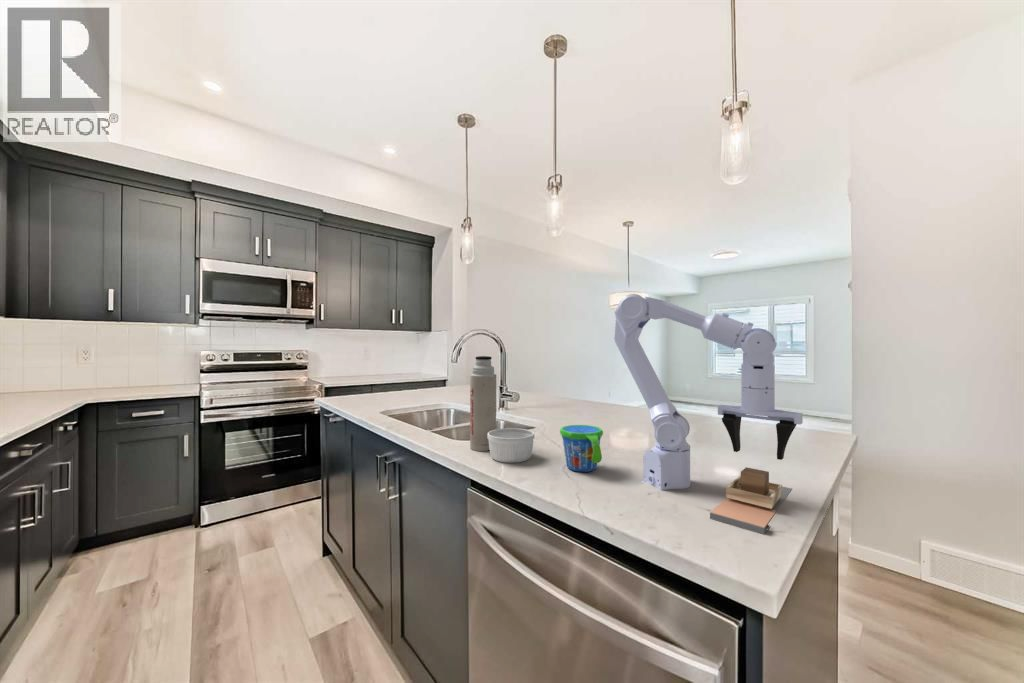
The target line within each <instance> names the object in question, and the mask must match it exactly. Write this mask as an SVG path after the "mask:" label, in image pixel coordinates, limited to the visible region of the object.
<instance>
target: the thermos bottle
mask: <svg viewBox="0 0 1024 683" xmlns="http://www.w3.org/2000/svg"><path fill="white" fill-rule="evenodd" d="M491 360H492V356H486V355H481V356H480V355H479V356H478V355H477V356H475V365H474V366H473V367H472V369H471V371H472V374H470V376H469V379H470V380H469V381H470V382H469V383H470V384H469V385H470V386H469V389H470V390H469V395H470V396H469V399H470V400H469V405H470V408H469V410H470V411H469V412H470V414H469V415H470V417H469V419H470V420H469V421H470V422H469V426H470V428H469V431H470V432H469V433H470V435H469V442H470V443H469V446H470V448H469V449H470V450H472V449H473V450H472V451H475V450H477V451H476V452H488V450H490V449H489V440H488V438H487V436H488V432H489V431H492V430H495V429H497V374H496V373H495V367H494V366H493V365H492V361H491Z"/></svg>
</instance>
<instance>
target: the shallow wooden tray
mask: <svg viewBox="0 0 1024 683" xmlns="http://www.w3.org/2000/svg"><path fill="white" fill-rule="evenodd" d="M782 486H783V485H782V484H779V483H774V482H769V492H768V494H767V495H766V496H764V495H760V494H756V493H751V492H747V491H743V490H741V475H739V476H738V477H737V478H735V479H733V481H732V482H731V483H729V484H728V485H727V486H726V488H725V497H726V498H731V499H734V500H738V501H742V502H746V503H750V504H754V505H758V506H762V507H766V508H770V509H773V507H774V505H775V504H776V503H777V501H778V500H780V497H781V496H782Z"/></svg>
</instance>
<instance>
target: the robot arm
mask: <svg viewBox="0 0 1024 683" xmlns="http://www.w3.org/2000/svg"><path fill="white" fill-rule="evenodd" d="M614 316H615V324H614V325H615V326H614V343H615V344H616V347H617V348H618V350H619V352H620V354H621V357H622V358H623V360H624V363H625V364H626V366H627V369H628V370H629V373H630V374H631V376H632V378H633V380H634V382H635V384H636V386H637V388H638V390H639V392H640V394H641V396H642V398H643V400H644V402H645V404H646V406H647V408H648V410H649V415H650V420H651V423H652V425H653V427H654V438H655V442H654V444H655V445H654V446H652V448H650V449H646V451H645V452H644V453H643V454H644V455H643V480H641V484H645V483H647V484H648V485H650V486H652V487H654V488H656V489H658V490H660V491H666V490H674V489H678V490H680V489H687V488H690V487H691V445H690V444H689V443H688V441H687V439H686V438H688V436H689V434H690V429H691V427H690V426H691V425H690V423H689V421H688V420H687V419H686V418H685V416H683V415H681V413H680V412H679V411H678V409H677V407H676V406H675V405H674V404H673V402H672V401H671V400H670V398H669V396H668V394H667V392H666V391H665V388H664V387H663V384H662V383H661V381H660V379H659V377H658V375H657V373H656V371H655V369H654V368H653V366H652V364H651V361H650V360H649V358H648V356H647V354H646V352H645V351H644V348H643V347H642V345H641V342H640V341H639V338H640V335H641V333H642V331H643V329H644V327H645V326H646V324H648V322H650V320H651V319H652V320H660V319H661V320H662V319H668V320H671V321H673V322H677V323H680V324H683V325H685V326H688V327H691V328H694V329H698V330H700V331H701V334H702V336H703V338H704V339H706V340H709V341H711V342H714V343H716V344H719V345H722V346H725V347H728V348H730V349H733V350H737V349H741V350H742V364H741V365H740V367H741V368H740V371H741V374H740V375H741V378H740V380H741V382H740V383H741V384H740V385H741V388H740V389H741V390H740V391H741V392H740V393H741V398H740V400H741V401H740V402H741V405H727V404H726V405H725V404H719V405H717V415H718V416H722V418H721V421H722V422H721V423H723V426H724V427H725V429H726V431H727V434H728V436H729V438H730V442H731V445H732V449H733V452H735V453H738V452H740V451H741V422H742V418H749V419H758V420H765V421H773V422H777V423H775V424H776V425H775V430H776V437H777V438H776V439H777V440H776V441H777V447H776V459H777V460H779V461H783V459H785V452H786V448H787V445H788V442H789V440H790V437H791V435H792V434H793V432H794V430H795V429H796V426H797V425H803V422H804V421H803V420H804V419H803V412H794V411H787V410H782V409H775V387H776V386H775V385H776V384H775V365H774V362H775V357H774V351H775V350H776V347H777V342H776V338H775V336H774V335H773V333H772V332H770V331H769V330H768V329H763V328H760V327H755V328H753V326H754V323H752V322H749V321H748V322H747V323H746V322H745V323H744V322H742V321H739V320H736V319H734V318H731V317H729V316H730V315H729V314H728V313H726V312H722V313H721V314H719V313H713V314H710V315H709V316H705V315H702V314H700V313H697V312H695V311H692V310H690V309H687V308H685V307H682V306H679V305H676V304H675V303H671V302H669V301H666V300H663V299H659V298H655V297H650V296H649V297H648V296H644V297H642V295H639V294H636V293H630V294H629V293H628V294H627V295H624V297H622V298H621V299H620V301H619V303H618V305H617V307H616V309H615V310H614Z"/></svg>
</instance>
